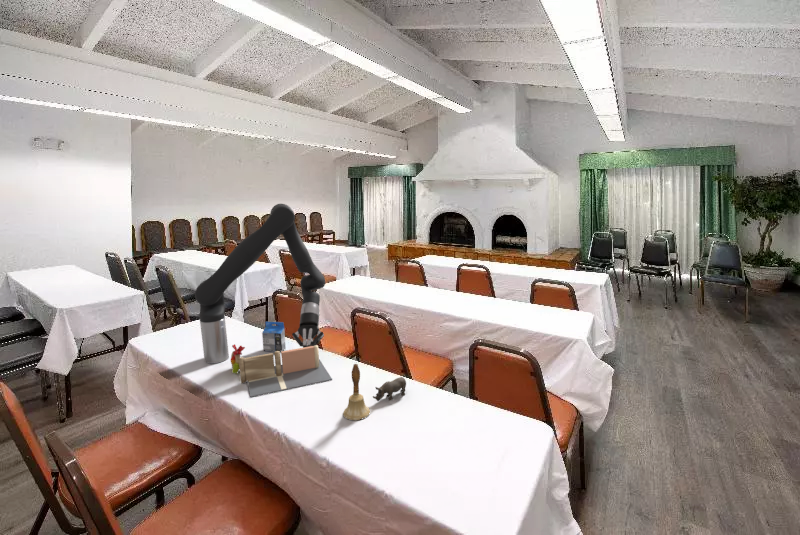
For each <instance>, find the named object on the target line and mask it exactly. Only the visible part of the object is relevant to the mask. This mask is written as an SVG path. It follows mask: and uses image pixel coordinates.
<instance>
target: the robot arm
mask: <svg viewBox="0 0 800 535" xmlns="http://www.w3.org/2000/svg"><path fill="white" fill-rule="evenodd" d="M295 220H296V215H295V212H294V210H293V209H292V208H291V207H290V205H287V204H286V203H277V204H274V206H273V207H272V208H271V210H270V215H269V216H268V218H267V219H266V220H265V221H264V223H263V224H262V225H261V226H260V227H259V228H258V229H257V230H256V231H254V232H252V233H250V234H249V235H248V236H246V237H245V238H244V239H243V240H241V242H240V243H238V245H236V247H235V248H234V249H233V250H232V251H231V252H230V253H229V255H227V257H226V258H225V259H224V261H223V262H222V263H221V264H220V266H219V268H217V270H216V271H215V272H214V273H213V274H212V275H210V276H209V277H208V278H207V279H205V280H204V281H201V283H200V284H198V286H197V287H196V289H195V292H194V298H195V300H196V302H197V303H198V304H199V308H200V309H199V315H198V316H199V322H200V323H199V325H200V333H201V340H202V341H201V342H202V350H203V357H204V362H205V363H206V364H207V363H208V364H218V363H221V362H224V361H226V360H228V359H229V358H230V354H229V353H230V352H229V345H228V334H227V327H226V326H227V325H226V315H225V314H226V313H225V308H226V304H225V295H224V293H225V291H227V289H228V288H229V287H230V285H232V283H233V282H235V281H236V280H237V279H238V278H240V277H241V276H242V275H243V274H244V273H245V272H246V271H248V270H249V269H250V267H252V265H255V263H256V262H257V261H258V259H260V258H261V256H262V255H263V254H264V253H265V252H266V250H268V248H269V247H270V245H272V244H273V242H274V241H275V240H277V239H278V238H279V236H281V235H282V236H283V238H284V240H285V243H286V245H287V248H288V250H289V253H290V255H291V258H292V260H293V262H294V264H295V266H296V268H297V270H298V272H299V273H303V274H304V273H305V274H307V275H303V276H302V277H301V279H300V287H301V293H302V302H301V303H302V305H301V309H300V316H299V318H300V319H299V325H298V328H297V330H296V332H292V333H291V335H292V338H293V339H294V340H295V341H296V343H297V344H298V345H299V347H301V348H304V347H310V346H315V345H318V344H319V342H320V341H321V340H322V339H323V338H324V337H325V334H324V331H321V330H320V328H319V324H320V323H319V322H320V315H321V314H320V302H321V301H320V300H321V298H320V297H321V296H320V293H318V292H317V291H316V290H319V289H320V290H321V289H323V288H324V287H325V286H326V278H325V276H324V274H323V273H322V272H321V270H320V269H319V268H318V267H317V266H316V265H315V263H314V261H313V259H312V257H311V256H310V253H309V251H308V249H307V247H306V245H305V243H304V241H303V239H302V238H301V235H300V234H299V231H298V229H297V225H296V223H295ZM300 337H301V339H302V340H301V339H300Z"/></svg>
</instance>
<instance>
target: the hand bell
mask: <svg viewBox="0 0 800 535" xmlns="http://www.w3.org/2000/svg"><path fill="white" fill-rule="evenodd" d="M360 379H361V372H360V368H359V364H357V363H354V364H353V366H352V369H351V380H352V381H351V382H352V383H353V384H352V385H353V388H352V389H353V391H352V392H353V393H352V394H351V395H349V398H348V403H347V407H346V408H344V411H343V413H342V416H343V417H344V419H347V420H349V419H350V420H351V421H360V419H361V420H363V419H362V418H364V419H366V418H367V416H368V415H369V416H370V414H371V410H370V408H369V407H368V406H367V405H366V403H365V399H364V395H363V394H360V388H359V385H360V384H359V383H360ZM369 413H370V414H369ZM369 416H368V417H369ZM365 417H366V418H365ZM350 420H349V421H350Z"/></svg>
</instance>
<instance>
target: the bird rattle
mask: <svg viewBox="0 0 800 535" xmlns="http://www.w3.org/2000/svg"><path fill="white" fill-rule="evenodd" d="M231 347H232V348H233V349H234V350H233V351H232V353H231V356H230V364H231V369H232V370H231V371H232V372H231V373H232V374H235V375H237V374H238V372H240V368H239V358H240V357H241V356H242V355H243V353H242V351H244V349H245V348H246V347H245V346H243V345H239V346H238V347H237V345H236V344H232V346H231Z"/></svg>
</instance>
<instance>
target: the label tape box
mask: <svg viewBox="0 0 800 535" xmlns="http://www.w3.org/2000/svg"><path fill="white" fill-rule="evenodd" d="M264 324H265V327H264V329H263V331H262V332H261V334H262V350H265V351H264V352H275V351H283V350H284V349H285V350H286V349H287V347H286V337H285V334H286V332H285V325H284V324H285V323H284V321H265V323H264ZM285 350H284V351H285Z"/></svg>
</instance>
